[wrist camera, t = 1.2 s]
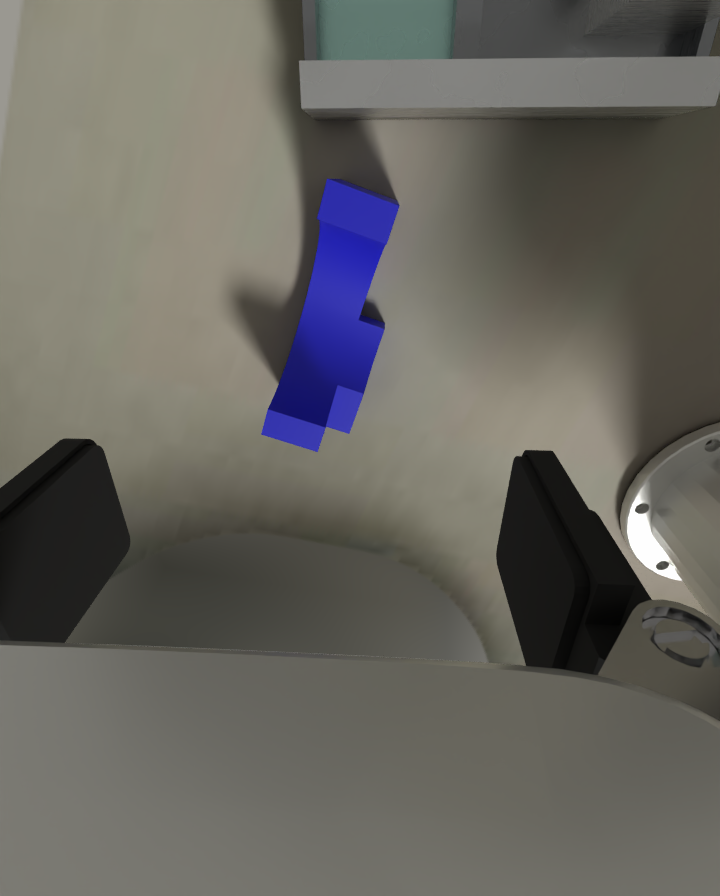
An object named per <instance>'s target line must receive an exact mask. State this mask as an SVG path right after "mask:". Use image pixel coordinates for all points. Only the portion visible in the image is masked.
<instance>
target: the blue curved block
mask: <svg viewBox="0 0 720 896" xmlns="http://www.w3.org/2000/svg"><path fill="white" fill-rule="evenodd" d="M398 208H399V204H398V202H397V200H394V199H391V198H389V197H386V196H383V195H381V194H378V193H376V192H373V191H370V190H368V189H365V188H362V187H360V186H357V185H354V184H352V183H349V182H347V181H344V180H341V179H327V182H326V185H325V189H324V193H323V197H322V201H321V205H320V209H319V213H318V216H317V219H318V220H319V221H320V232H319V241H318V247H317V253H316V258H315V263H314V267H313V272H312V276H311V280H310V284H309V289H308V292H307V296H306V300H305V304H304V308H303V311H302V315H301V318H300V322H299V325H298V328H297V332H296V335H295V338H294V342H293V345H292V348H291V351H290V354H289V357H288V360H287V363H286V366H285V369H284V371H283V374H282V377H281V380H280V382H279V385H278V388H277V390H276V392H275V395H274V397H273V400H272V402H271V404H270V406H269V408H268V411H267V414H266V418H265V422H264V426H263V430H262V434H261V435H265V436H268V437H271V438H274V439H278V440H281V441H284V442H287V443H290V444H294V445H297V446H300V447H303V448H307V449H310V450H313V451H316V452H318V449H319V446H320V443H321V440H322V437H323V434H324V431H325V428H326V427H329V428H332V429H336V430H339V431H342V432H345V433H348V434H349V433H350V430H351V427H352V425H353V422H354V419H355V416H356V414H357V411H358V408H359V405H360V403H361V400H362V397H363V394H364V391H365V387H366V384H367V381H368V377H369V374H370V371H371V368H372V365H373V361H374V358H375V355H376V352H377V349H378V346H379V343H380V341H381V338H382V335H383V332H384V329H385V323H383V322H381V321H378V320H375V319H372V318H369V317H366V316H363V315H360V314H361V311H362V308H363V305H364V302H365V299H366V296H367V293H368V290H369V287H370V284H371V281H372V279H373V276H374V273H375V270H376V267H377V265H378V262H379V259H380V257H381V254H382V251H383V249H384V247H385V245H386V244H387V241H388V238H389V235H390V232H391V229H392V226H393V223H394V220H395V217H396V214H397V211H398Z"/></svg>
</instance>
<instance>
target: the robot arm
mask: <svg viewBox="0 0 720 896" xmlns="http://www.w3.org/2000/svg"><path fill="white" fill-rule="evenodd" d="M620 523H621V532H622V534H623V537H624V539H625V542H626V544H627V545H628V547H629V548H630V550H631V551H632V553H633V555H634V556H635V557H636V558H637V559H638V560H639V561H640V562H641V563H642V564H643V565H644V566H645V567H646V568H648V569H649V570H651V571H652V572H654V573H656V574H659V575H662V576H664V577H667V578H670V579H674V580H680V581H683V582H684V583H685V585H686V586H687V588H688V589H689V590H690V592H691V593H692V594H693V596H694V597H695V598H696V600H697V601H698V602H699V604H700V605H701V607H702V608H703V609H704V611H705V612H706V613H707V615H708V616H709V617H708V616H707V615H705V614H703V613H701V612H700V611H698V610H696V609H694V608H692V607H689V606H686V605H684V604H681V603H678V602H673V601H668V600H652V599H651V598H650V596H649V595H648V593H647V592H646V590H645V588H644V587H643V585H642V584H641V582H640V580H639V579H638V577H637V576H636V574H635V573H634V571H633V569H632V568H631V566H630V565H629V563H628V561H627V560H626V558H625V557H624V555H623V554H622V552H621V550H620V549H619V547H618V546H617V544H616V542H615V541H614V539H613V538H612V536H611V535H610V533H609V531H608V530H607V528H606V527H605V525H604V524H603V522H602V520H601V519H600V517H599V516H598V515H597V514H596V512H594V511H592V510H589V509H588V507H587V506H586V504H585V502H584V501H583V499H582V497H581V496H580V494H579V493H578V491H577V489H576V488H575V486H574V484H573V483H572V481H571V480H570V478H569V476H568V475H567V473H566V471H565V470H564V468H563V467H562V465H561V463H560V462H559V460H558V458H557V457H556V455H555V453H554V452H553V451H539V450H525V451H524V453H523V455H522V456H516V457H515V458H514V461H513V465H512V471H511V476H510V481H509V487H508V492H507V497H506V503H505V508H504V513H503V519H502V524H501V529H500V535H499V540H498V545H497V553H496V557H497V565H498V569H499V573H500V576H501V580H502V583H503V586H504V590H505V593H506V597H507V600H508V604H509V607H510V611H511V614H512V618H513V621H514V625H515V628H516V632H517V635H518V639H519V642H520V646H521V649H522V652H523V656H524V659H525V663H526V666H521V665H511V664H497V663H483V662H465V661H449V660H433V659H415V658H395V657H372V656H354V655H334V654H333V655H332V654H314V653H293V652H271V651H249V650H248V651H247V650H226V649H202V648H180V647H156V646H155V647H154V646H133V645H107V644H79V643H65V641H66V640H67V638H68V637H69V636H70V634H71V633H72V631H73V630H74V628H75V627H76V625H77V624H78V623H79V621H80V620H81V618H82V617H83V615H84V614H85V613H86V611H87V610H88V608H89V607H90V605H91V604H92V602H93V601H94V599H95V598H96V597H97V595H98V594H99V592H100V591H101V590H102V588H103V587H104V585H105V584H106V582H107V581H108V580H109V578H110V577H111V575H112V574H113V572H114V571H115V569H116V568H117V567H118V565H119V564H120V562H121V561H122V559H123V558H124V557H125V555H126V554H127V552H128V550H129V547H130V535H129V532H128V529H127V525H126V522H125V519H124V516H123V512H122V509H121V506H120V502H119V499H118V496H117V493H116V489H115V486H114V483H113V479H112V476H111V473H110V469H109V466H108V463H107V460H106V456H105V453H104V451H103V449H102V447H100V446H97V445H96V443H95V442H94V441H93V440H91V439H62V440H60V441H59V442H58V443H56V444H55V445H54V446H53V447H51V448H50V449H49V450H48V451H46V452H45V453H44V454H43V455H41V456H40V457H39V458H38V459H36V460H35V461H34V462H33V463H31V464H30V465H29V466H28V467H26V468H25V469H24V470H23V471H21V472H20V473H19V474H18V475H16V476H15V477H14V478H13V479H11V480H10V481H9V482H8V483H6V484H5V485H4V486H3V487H1V488H0V896H720V423H716V424H713V425H709V426H706V427H704V428H701V429H699V430H697V431H694V432H692V433H690V434H687V435H685V436H684V437H682V438H680V439H679V440H677V441H675V442H674V443H672V444H670V445H669V446H667V447H666V448H665V449H663V450H662V451H661V452H660V453H658V454H657V455H656V456H655V457H654V458H652V459H651V460H650V461H649V462H648V463H647V464H646V466H645V467H644V468H643V469H642V470H641V471H640V472H639V473H638V474H637V476H636V477H635V479H634V481H633V482H632V484H631V485H630V487H629V488H628V491H627V493H626V496H625V498H624V501H623V503H622V509H621V515H620Z"/></svg>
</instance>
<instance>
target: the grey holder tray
mask: <svg viewBox="0 0 720 896" xmlns="http://www.w3.org/2000/svg"><path fill="white" fill-rule="evenodd" d="M302 13H303V35H304V58H305V61H299V71H300V92H301V109H303V110H304V111H305V112H306V113H307V114H309V115H310V116H311V117H312V118H313V119H315V120H371V119H588V118H666V117H670V116H674V115H679V114H683V113H687V112H692V111H696V110H701V109H705V108H709V107H714V106H716V102H717V99H718V96H719V92H720V56H709V55H710V51H711V48H712V44H713V41H714V37H715V33H716V30H717V26H718V23H719V19H720V0H302Z"/></svg>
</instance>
